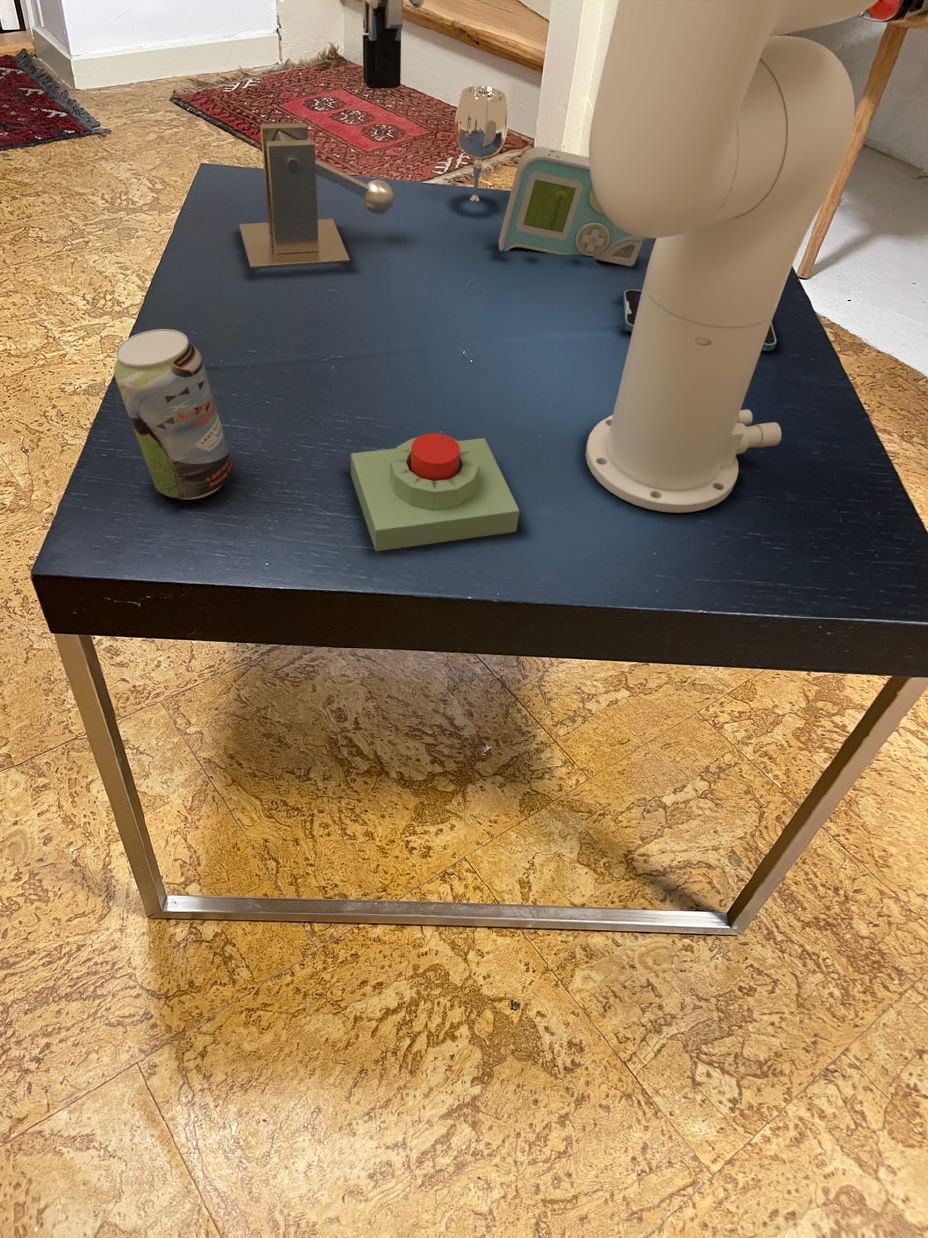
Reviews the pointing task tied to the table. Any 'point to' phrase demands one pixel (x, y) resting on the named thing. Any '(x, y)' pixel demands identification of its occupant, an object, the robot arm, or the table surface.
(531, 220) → the handheld gaming console
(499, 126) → the wineglass
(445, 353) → the table surface
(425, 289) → the table surface
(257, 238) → the lever stand
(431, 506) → the button box
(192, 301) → the table surface
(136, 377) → the beverage can
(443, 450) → the button
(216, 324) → the table surface
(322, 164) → the tap lever
